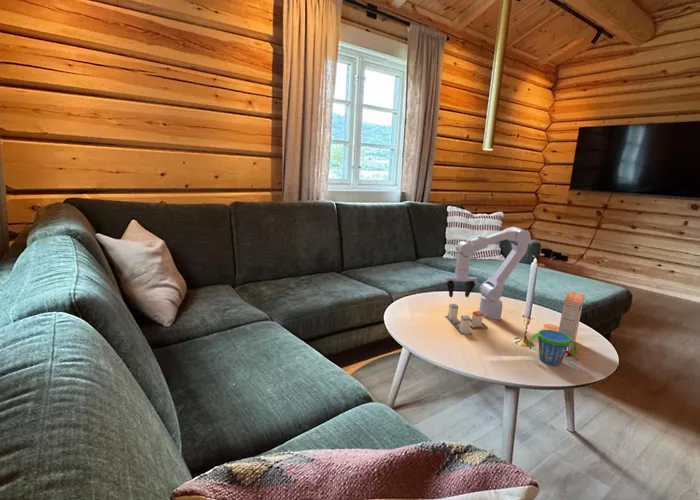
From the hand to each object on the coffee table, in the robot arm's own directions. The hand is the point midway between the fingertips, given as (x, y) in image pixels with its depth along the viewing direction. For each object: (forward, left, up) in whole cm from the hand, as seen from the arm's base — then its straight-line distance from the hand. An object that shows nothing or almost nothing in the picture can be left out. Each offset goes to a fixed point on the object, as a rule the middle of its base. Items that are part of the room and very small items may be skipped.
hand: (458, 296), depth 174 cm
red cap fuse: (-4, +12, -9) cm, 16 cm away
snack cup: (-20, +40, -10) cm, 46 cm away
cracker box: (-35, +28, -10) cm, 46 cm away
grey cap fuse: (+4, +5, -9) cm, 11 cm away
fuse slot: (+4, +18, -9) cm, 20 cm away
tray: (-4, +12, -10) cm, 16 cm away
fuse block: (+4, +12, -10) cm, 16 cm away
